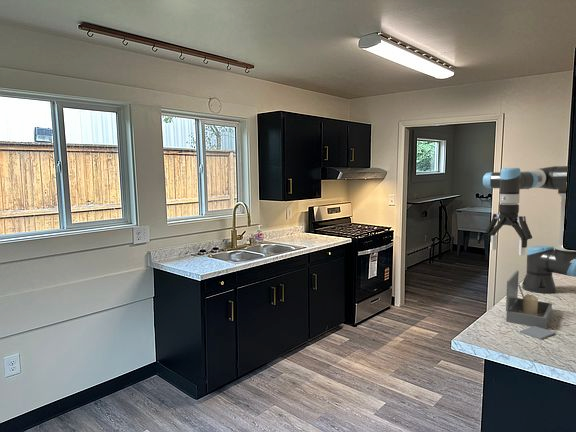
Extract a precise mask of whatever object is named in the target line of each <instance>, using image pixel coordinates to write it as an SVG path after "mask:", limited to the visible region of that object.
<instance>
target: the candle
mask: <svg viewBox="0 0 576 432" xmlns="http://www.w3.org/2000/svg"><path fill="white" fill-rule="evenodd" d="M522 299H523V309H521V310H522V312H521V313H523V314H529V315H535V316H538V312H537V308H538V301H539V299H538V298H537V296H536V295H534V294H530V293H527V294H524V297H522Z"/></svg>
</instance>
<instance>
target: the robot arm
mask: <svg viewBox="0 0 576 432" xmlns="http://www.w3.org/2000/svg"><path fill="white" fill-rule="evenodd" d="M568 166H569V165H561V166H559V165H558V166H547V167H541V168H533V169H531V170H527V171H526V170H525V171H524V170H523V171H522V170H521V169H520V168H519V167H504V168H503V167H502V168H501V170H500V171H498V172H496V171H495V172H493V171H492V172H486V173H485V174H484V175H483V177H482V185H483V187H485V188H486V189H499V205H498V212H499V213H492V216H491V220H490V223H489V225H488V227H487V229H486V230H485V233H486V234H488V235H489V242H490V250H491V251H495V250H496V251H497V242H498V241H497V239H498V234H497V233H498V231H500V230H501V228H502V227H503V226H511V227H512V228H513V229H514V230H515V232H516V233H517V234H518V236H519V238H520V239H519V247H518V255H519V256H525V255H526V272H525V273H526V274H525V276H524V278H523V281H522V282H521V283H522V284H521V289H524V290H526V291H528V292H532V293H537V294H538V293H540V294H551V293H555V292H556V290H557V289H556V288H557V287H556V283H555V280H554V277H553V274H559V275H563V276H567V277H575V278H576V251H573V250H566V249H564V248H563V231H564V214H565V199H566V182H567V169H568ZM529 189H547V190H556V191H557V194H558V195H559V197H561V198H560V199H561V201H560V216H559V217H560V220H559V222H560V223H559V236H558V237H559V239H558V245H557V246H555V248H554V246H551V245H535V246H529V247H528V240H531V239H533V236H532V234H531V230H530V229H529V228H530V227H529V226H528V224H527V220H526V216H525V215H521V216H520V215H519V211H520V205H519V203H520V191H521V190H529ZM527 247H528V248H527ZM526 248H527V251H526Z"/></svg>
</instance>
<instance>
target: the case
mask: <svg viewBox="0 0 576 432" xmlns="http://www.w3.org/2000/svg"><path fill="white" fill-rule="evenodd" d="M519 274H520V271H519V270H515V272H513V274H512V275H511V276H510V278H508V279H507V281H506V297H505V298H506V299H505V301H506V302H505V303H506V304H505V312H506V323H507V322H508V323H511V324H517V325H522V326H528V327H533V326H537V327H540V328H543V329H546V328H547V326H548V323H549V321H550V318H551V316H552V312H553V303H552V302H544V301H539V300H538V308H537V313H544V315H543V316H540V315H537V316H535V315H529V314H523V313H522V312H518V311H517V310H518V309H521V310H523V297H524V296H525V294H524V293H523V290H522V289H523V288H522V286H521V284H519ZM518 291H519V292H520V295H521V297H522V298H520V297H518V296H519V292H518ZM546 330H547V329H546Z"/></svg>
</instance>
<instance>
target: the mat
mask: <svg viewBox="0 0 576 432" xmlns="http://www.w3.org/2000/svg"><path fill="white" fill-rule="evenodd" d="M519 333H520V334H524V335H525V336H526V335H527V336H529V337H532V338H535V339H538V340H543V339H546V338H548V337H552V336H555V335H556V332H555V331H552V330H550V329H543V328H540V327H537V326H533V327H532V326H529V327H527V328H525V329H522V330H519Z"/></svg>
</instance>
